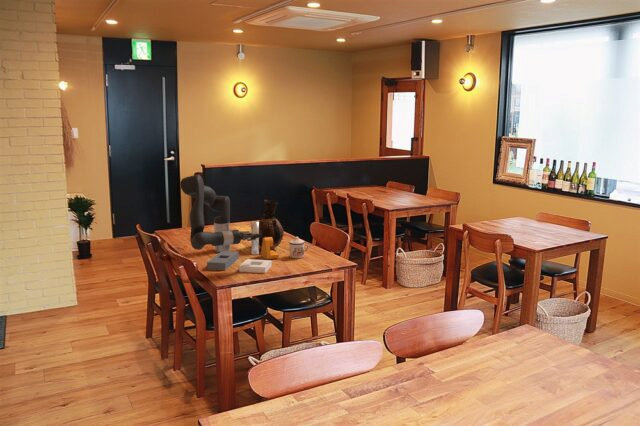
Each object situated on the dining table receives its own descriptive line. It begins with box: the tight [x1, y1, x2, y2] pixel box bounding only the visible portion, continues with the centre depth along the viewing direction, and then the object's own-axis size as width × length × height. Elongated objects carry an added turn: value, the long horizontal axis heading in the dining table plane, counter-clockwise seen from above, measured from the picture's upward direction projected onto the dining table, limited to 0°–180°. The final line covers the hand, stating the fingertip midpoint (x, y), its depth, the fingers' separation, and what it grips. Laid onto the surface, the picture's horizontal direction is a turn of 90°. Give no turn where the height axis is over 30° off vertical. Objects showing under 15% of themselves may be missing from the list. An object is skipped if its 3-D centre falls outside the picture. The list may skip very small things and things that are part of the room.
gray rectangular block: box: [206, 250, 240, 271], centre depth 314 cm, size 24×10×4 cm, turn 171°
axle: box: [250, 220, 260, 255], centre depth 302 cm, size 4×4×17 cm
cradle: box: [238, 258, 273, 274], centre depth 305 cm, size 14×14×3 cm
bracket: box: [260, 237, 280, 260], centre depth 327 cm, size 11×7×12 cm, turn 24°
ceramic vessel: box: [257, 199, 285, 250], centre depth 346 cm, size 21×18×30 cm
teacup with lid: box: [288, 236, 310, 259], centre depth 330 cm, size 12×9×12 cm
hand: (259, 234), depth 303 cm, fingers closed on axle, 4 cm apart
